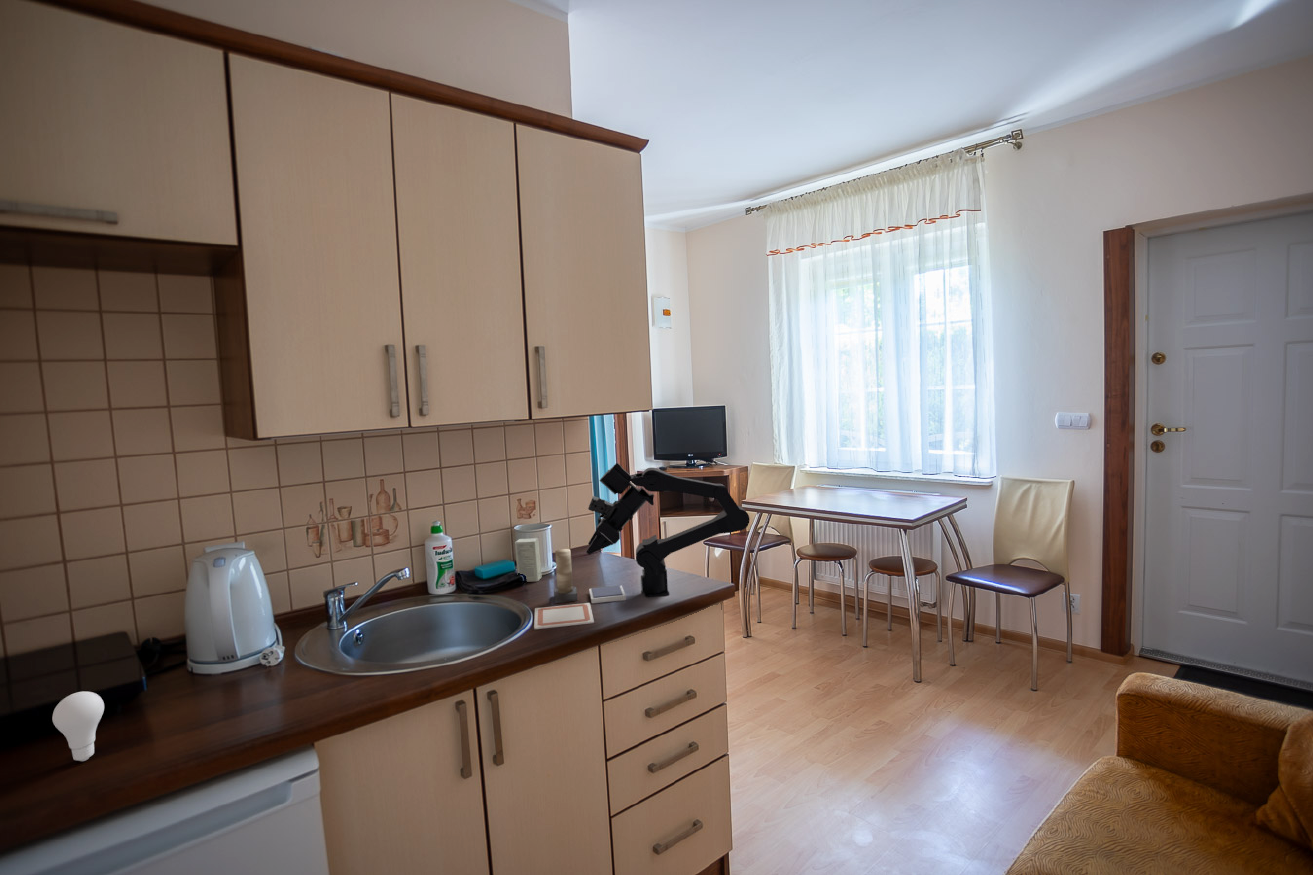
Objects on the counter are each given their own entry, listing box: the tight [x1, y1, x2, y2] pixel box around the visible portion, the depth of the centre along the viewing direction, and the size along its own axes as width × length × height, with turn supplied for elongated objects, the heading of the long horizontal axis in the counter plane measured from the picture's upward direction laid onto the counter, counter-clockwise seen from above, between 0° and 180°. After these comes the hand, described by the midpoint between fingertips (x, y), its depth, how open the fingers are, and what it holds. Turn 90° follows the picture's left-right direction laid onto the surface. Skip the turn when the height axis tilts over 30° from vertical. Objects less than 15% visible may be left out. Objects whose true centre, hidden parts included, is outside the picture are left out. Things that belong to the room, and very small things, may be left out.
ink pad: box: [588, 585, 627, 604], centre depth 172 cm, size 9×9×2 cm
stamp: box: [553, 548, 579, 604], centre depth 172 cm, size 6×6×13 cm
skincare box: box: [514, 537, 543, 583], centre depth 191 cm, size 6×4×12 cm
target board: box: [533, 602, 595, 630], centre depth 159 cm, size 14×14×1 cm
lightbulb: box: [52, 691, 105, 762], centre depth 102 cm, size 6×6×11 cm
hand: (588, 549), depth 172 cm, fingers open, 9 cm apart
